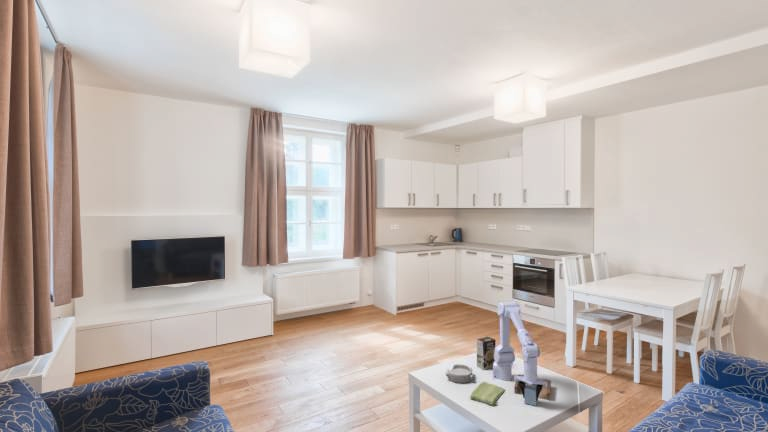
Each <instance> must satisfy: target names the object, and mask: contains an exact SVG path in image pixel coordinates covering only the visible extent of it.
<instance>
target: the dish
mask: <svg viewBox="0 0 768 432" xmlns="http://www.w3.org/2000/svg"><path fill="white" fill-rule="evenodd" d="M445 376H446V377H447V378H448V381H451V382H452V383H457V384H458V383H459V384H464V383H470V382H471V381H472V380H473V379H474V375H473V369H472V367H470V366H469V365H467V364H459V363H457V364H453V366H452V368H451V370H449V369H447V370H446V372H445Z"/></svg>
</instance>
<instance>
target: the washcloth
mask: <svg viewBox="0 0 768 432" xmlns="http://www.w3.org/2000/svg"><path fill="white" fill-rule="evenodd" d="M505 392H506V389H504V388H503V387H500V386H497V385H496V384H493V383H488V382H486V381H482V382H480V383H479V384H478V385H477V386H476V388H475V389H474V390H473V391H472V392H471V394H470V397H469V398H470V399H471V400H473V401H476V402H480V403H483V404H486V405H489V406H492V407H494V406H496V404H497V403H498V402H497V401H499V400H498V399H499V398H500V397H501V395H503V393H505Z"/></svg>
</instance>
